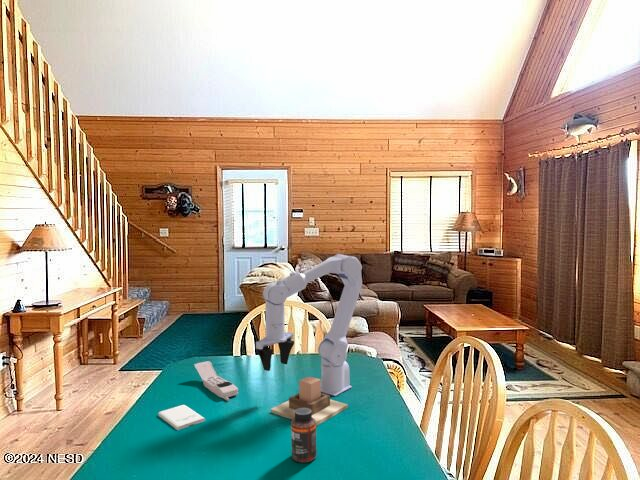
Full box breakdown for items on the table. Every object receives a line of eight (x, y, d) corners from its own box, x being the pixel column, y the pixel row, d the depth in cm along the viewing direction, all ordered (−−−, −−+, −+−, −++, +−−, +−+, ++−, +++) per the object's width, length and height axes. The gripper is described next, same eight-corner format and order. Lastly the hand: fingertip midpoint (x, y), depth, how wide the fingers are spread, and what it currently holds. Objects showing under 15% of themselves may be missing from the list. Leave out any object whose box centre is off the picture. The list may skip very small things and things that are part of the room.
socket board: (306, 395, 153) (306, 382, 152) (347, 407, 143) (347, 394, 143) (270, 412, 140) (270, 398, 140) (313, 427, 130) (313, 412, 130)
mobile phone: (209, 360, 171) (242, 379, 151) (209, 376, 171) (242, 398, 151) (192, 363, 167) (224, 384, 147) (193, 380, 168) (225, 403, 148)
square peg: (309, 402, 145) (309, 376, 144) (321, 406, 142) (320, 379, 141) (299, 407, 141) (299, 380, 140) (311, 411, 138) (310, 383, 138)
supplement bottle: (316, 450, 118) (315, 405, 117) (317, 463, 112) (316, 416, 111) (291, 451, 118) (291, 405, 117) (291, 464, 112) (290, 416, 111)
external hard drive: (184, 409, 144) (205, 423, 135) (158, 417, 139) (177, 432, 129) (184, 404, 144) (205, 417, 135) (158, 412, 138) (177, 426, 129)
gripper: (267, 329, 139) (268, 376, 140) (300, 320, 151) (300, 363, 152) (250, 326, 144) (251, 371, 145) (283, 317, 155) (284, 359, 156)
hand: (275, 366), depth 148 cm, fingers open, 7 cm apart
